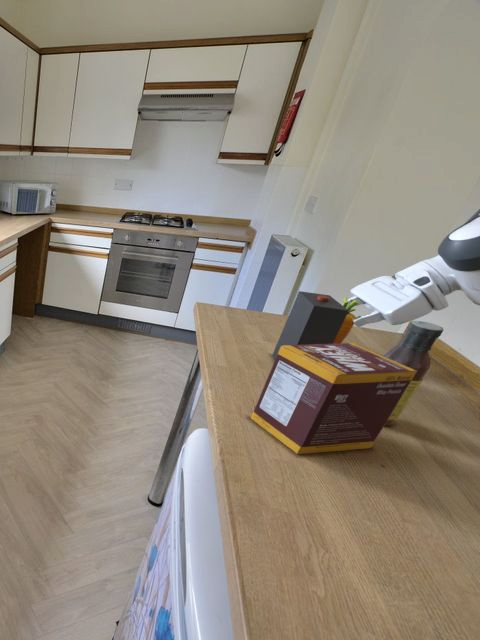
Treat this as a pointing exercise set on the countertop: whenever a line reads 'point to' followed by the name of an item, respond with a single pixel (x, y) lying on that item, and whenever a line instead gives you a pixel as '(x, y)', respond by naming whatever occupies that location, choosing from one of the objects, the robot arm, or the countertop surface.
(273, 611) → the countertop surface
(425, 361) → the sauce bottle
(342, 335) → the carrot
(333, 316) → the box with red knob
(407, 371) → the supplement box
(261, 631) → the countertop surface
